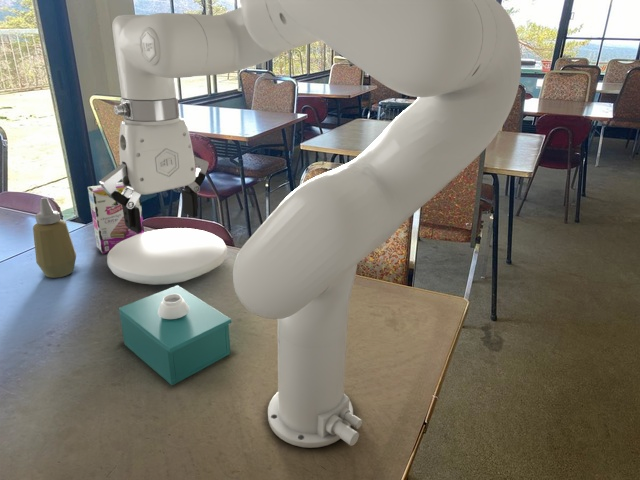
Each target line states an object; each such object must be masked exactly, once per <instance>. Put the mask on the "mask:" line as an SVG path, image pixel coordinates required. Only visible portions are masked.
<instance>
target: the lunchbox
mask: <svg viewBox="0 0 640 480" xmlns="http://www.w3.org/2000/svg"><path fill="white" fill-rule="evenodd" d="M118 312H119V311H118ZM119 318H120V324H121V331H122V337H123V342H124V345H125V346H126V347H127V348H128V350H130V351H132V352H133V353H134V354H135V355H136V356H137V357H138V358H139V359H141V360H142V361H143V362H144V363H145V364H146V365H147V366H149V367H150V368H151V369H152V370H153V371H155V373H156V374H157V375H159V376H160V377H161V378H163V379H164V380H165V381H166V382H167V383H168V384H169V385H170V386H174V385H176V384H177V383H180V382H182V381H184V380H185V379H187V378H189V377H191V376H192V375H193V376H194V374H196V373H198V372H200V371H202V370H203V369H206V368H207V367H209V366H211V365H212V364H214V363H215V364H216V362H218V361H220V360H222V359H224V358H226V357H227V356H229V355H231V342H230V339H231V338H230V324H228V325H226V326H224V327H222V328H220V329H218V330H216V331H214V332H212V333H210V334H208V335H206V336H204V337H202V338H200V339H198V340H196V341H194V342H192V343H190V344H187V345H185V346H183V347H181V348H179V349H177V350H175V351H173V352H171V353H170V352H169V351H168V350H166V349H165V348H164V347H163V346H161V345H160V344H159V343H158V342H156V341H155V340H154V339H153V338H151V337H150V336H149V335H148V334H146V333H145V332H144V331H143V330H141V329H140V328H139V327H138V326H136V325H135V324H134V323H133V322H131V321H130V320H129V319H128V318H126V317H125V316H124V315H123V314H121V313H120V312H119Z"/></svg>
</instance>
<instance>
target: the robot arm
mask: <svg viewBox="0 0 640 480" xmlns="http://www.w3.org/2000/svg"><path fill="white" fill-rule="evenodd" d="M239 6H240V7H238V8H236V9H233V10H230V11H228V12H224V13H221V14H215V15H212V14H200V13H186V12H185V13H184V12H183V13H179V12H177V13H176V12H157V13H152V14H119V15H117V16H116V17H114V19H113V20H112V23H111V24H112V25H111V26H112V27H111V28H112V29H111V30H112V37H113V39H112V40H113V43H114V44H113V46H114V53H115V54H114V55H115V60H116V68H117V76H118V82H119V90H120V97H121V98H120V100H119V101H120V103H119V104H115V105H113V113H114V115H115V116H122V118H123V120H122V121H120V125H119V133H118V134H119V136H118V137H119V138H118V154H119V155H118V156H119V165H118V166H117V167H115V169H113V170H112V171H110V172H109V173H108V174H106V175H105V176H104V177H103V178H101V179H100V180H99V185H101V187H102V188H103V189H104V190H105V192H106V193H107V194H108V196H109V197H110V198H112V199H113V200H115V201H116V202H118V203H119V204H121V205H122V208H123V214H124V221H125V225H126V227H128V228H129V229H130V230H132V231H134V232H135V233H137V234H138V233H141V231H142V226H141V219H140V211H139V208H138V207H136V206H135V205H136V203H137V201H138V199H139V198H140V199H141V196H142V195H152V194H157V193H161V192H166V191H169V190H174V189H178V188H179V189H180V188H182V189H181V202H182V203H181V204H182V212H183V214H186V215H188V216H189V217H192V218H197V217H198V216H199V214H198V213H199V212H198V209H199V201H198V193H199V192H200V190H201V185H202V184H203V182H204V181H205V180H206V174H207V172H208V168H209V166H210V163H209V161H207V160H205V159H202V158H200V157H197V156H195V155H194V149H193V144H192V139H191V135H190V130H189V127H188V124H187V121H186V119H185V118H183V117H180V108H179V98H178V88H177V87H178V86H177V79H183V78H193V77H203V76H216V75H217V76H218V75H227V74H231V73H234V72H238V71H242V70H244V69H247V68H248V69H249V68H251V67H254V66H255V67H256V66H258V65H261V64H264V63H267V62H268V61H272V60H273V59H275V58H276V57H279V56H280V55H282V54H283V53H286V52H288V51H291V50H295V49H298V48H301V47H304V46H307V45H310V44H313V43H316V42H320V41H321V43H323V44H325V45H326V46H328V47H329V48H330V49H331V50H333V51H334V52H336V53H337V54H338V55H340V56H342V57H343V58H344V59H346V60H347V61H348V62H350V63H352V64H353V65H354V66H355V67H357V68H358V69H359V70H361V71H363V72H364V73H365V74H367V75H368V76H370V77H371V78H373V79H374V80H376V81H377V82H379V84H380V83H381V85H383V86H384V87H386V88H389V89H390V90H392V91H394V92H396V93H398V94H402V95H405V96H407V97H408V96H409V97H414V98H416V99H415V100H414V101H413V102H412V103H411V104H410V105H409V106H408V107H406V108H405V109H404V110H403V111H402V112H401V113H399V114H398V115H397V116H396V117H395V118H394V119H393V120H392V121H391V122H390V123H389V124H388V125H387V126H386V128H385V129H384V130H383V131H382V133H380V135H379V136H378V137H376V139H375V140H373V142H372V143H371V144H370V145H368V147H366V148H365V149H364V150H363V151H362V152H361V153H360V154H359V155H358V156H357V157H355V158H354V159H352V160H351V161H349V162H346V163H345V164H342V165H340V166H338V167H335V168H333V169H331V170H327V171H326V172H323V173H320V174H319V175H316V176H314V177H312V178H310V179H309V180H307V181H305V182H303V183H302V184H300V185H298V187H296V188H295V189H294V190H293V191H291V192H290V193H289V194H288V195H287V196H286V197H285V198H284V199H283V200H282V201H281V202H280V203H279V204H278V206H276V207H275V208H274V210H273V211H272V212H271V214H269V216H268V217H267V218H265V220H264V221H263V222H262V224H260V225H259V226H258V228H257V229H256V230H255V231H254V232H253V233H252V235H251V236H250V237H249V238H248V239H247V240H246V242H245V243H244V244H243V245H242V247H241V248H240V249H239V251H238V253H237V255H236V258H235V260H234V264H233V269H232V282H233V288H234V292H235V294H236V296H237V299H238V300H239V301H240V303H241V304H242V306H243V307H244V308H245V309H247V311H249V312H250V313H252V314H254V315H256V316H257V317H260V318H263V319H268V320H277V392H276V393H275V394H274V395H273V396H272V398H271V400H269V403H268V407H267V422H268V425H269V427H270V428H271V430H272V432H273V433H274V434H275V435H276V436H277V437H278V438H279V439H280V440H282V441H284V442H286V443H288V444H290V445H292V446H297V447H299V448H310V449H312V448H322V447H325V446H326V447H327V446H329V445H332V444H334V443H337V441H339V440H342V441H344V443H346V444H348V445H349V446H350V447H353V446H354V445H355V444H356V443H357V442H358V440H359V438H360V432H358V431H357V430H359V429H360V428H361V426H362V425H363V420H362V419H361V418H359V417H358V416H356V415H355V414H354V407H353V405H352V404H353V403H352V402H351V400H350V397H349V396H348V395H347V394H346V393H345V382H346V381H345V380H346V378H345V377H346V365H347V364H346V363H347V348H348V347H347V345H348V332H349V317H350V316H349V315H350V306H351V298H352V292H353V288H354V282H355V278H356V274H357V270H358V264H359V263H360V262H362V260H364V259H365V258H366V257H367V256H369V255H370V254H371V253H373V252H375V250H377V249H379V248H380V247H381V246H382V245H384V244H385V242H387V241H388V240H389V239H390V238H391V237H392V236H393V235H394V234H395V233H396V232H397V231H398V230H399V229H400V228H401V226H403V225H404V224H405V222H406V221H408V220H409V219H410V218H411V217H412V216H413V215H414V214H415V213H416V212H417V211H419V210H420V209H421V208H422V207H423V206H424V205H425V204H427V203H428V202H429V201H430V200H432V199H433V198H434V197H435V196H437V195H438V193H440V192H441V191H442V190H443V189H444V188H445V187H446V186H447V185H448V184H450V182H452V181H453V180H454V179H455V178H456V177H457V176H459V175H460V174H461V173H463V171H464V170H465V169H466V168H467V167H469V166H470V165H471V164H472V163H473V162H474V161H475V160H476V159H477V158H478V157H479V156H480V155H481V154H482V153H483V152H484V151H485V149H486V148H487V147H488V146H489V145H490V144H491V143H492V141H493V140H494V139H495V138H496V136H497V135H498V134H499V132H500V130H501V129H502V128H503V126H504V124H505V123H506V121H507V119H508V117H509V115H510V113H511V111H512V109H513V106H514V103H515V100H516V97H517V94H518V90H519V87H520V82H521V77H522V75H521V74H522V52H521V46H520V45H521V44H520V40H519V37H518V31H517V29H516V26H515V23H514V22H513V20H512V18H511V16H510V14H509V13H508V11H506V9H505V7H504V6H503V5H502V4H500V3H499V1H497V0H239ZM118 182H123V185H124V186H125V188H124V190H123V192H122V193H119V192H118V190H117V189H116V187H115V185H116V183H118ZM352 427H353V428H354V429H353V428H352ZM355 429H356V430H355Z"/></svg>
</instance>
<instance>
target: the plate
mask: <svg viewBox="0 0 640 480" xmlns="http://www.w3.org/2000/svg"><path fill="white" fill-rule="evenodd" d="M106 255H107V256H106V261H107V263H106V264H107V266H108V268H109V270H110V271H111V272H112V274H113V275H114V276H117V277H118V278H120V279H123V280H126V281H129V282H133V283H136V284H137V283H138V284H144V285H155V286H156V285H170V284H177V283H178V284H179V283H184V282H187V281H189V280H193V279H194V278H197V277H200V276H202V275H205V274H207V273H209V272H211V271H213V270H215V269H216V268H218V267H219V266H221V265H222V264H223V263H224V262H225V260H226V258H227V255H228V247H227V244H226V243H225V241H224V240H223V239H222V238H221V237H219V236H218V235H215V234H214V233H212V232H208V231H205V230H201V229H197V228H196V229H195V228H187V227H184V228H182V227H180V228H179V227H177V228H176V227H174V228H173V227H172V228H162V229H161V228H160V229H155V230H149V231H144V233H141V234H137V235H134V236H132V237H130V238H127V239H125V240H123V241H121V242H119V243H118V244H116V245H115V246H114V247H113V248H112V249H111V250H110V251H109V252H108V253H107V254H106Z"/></svg>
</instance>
